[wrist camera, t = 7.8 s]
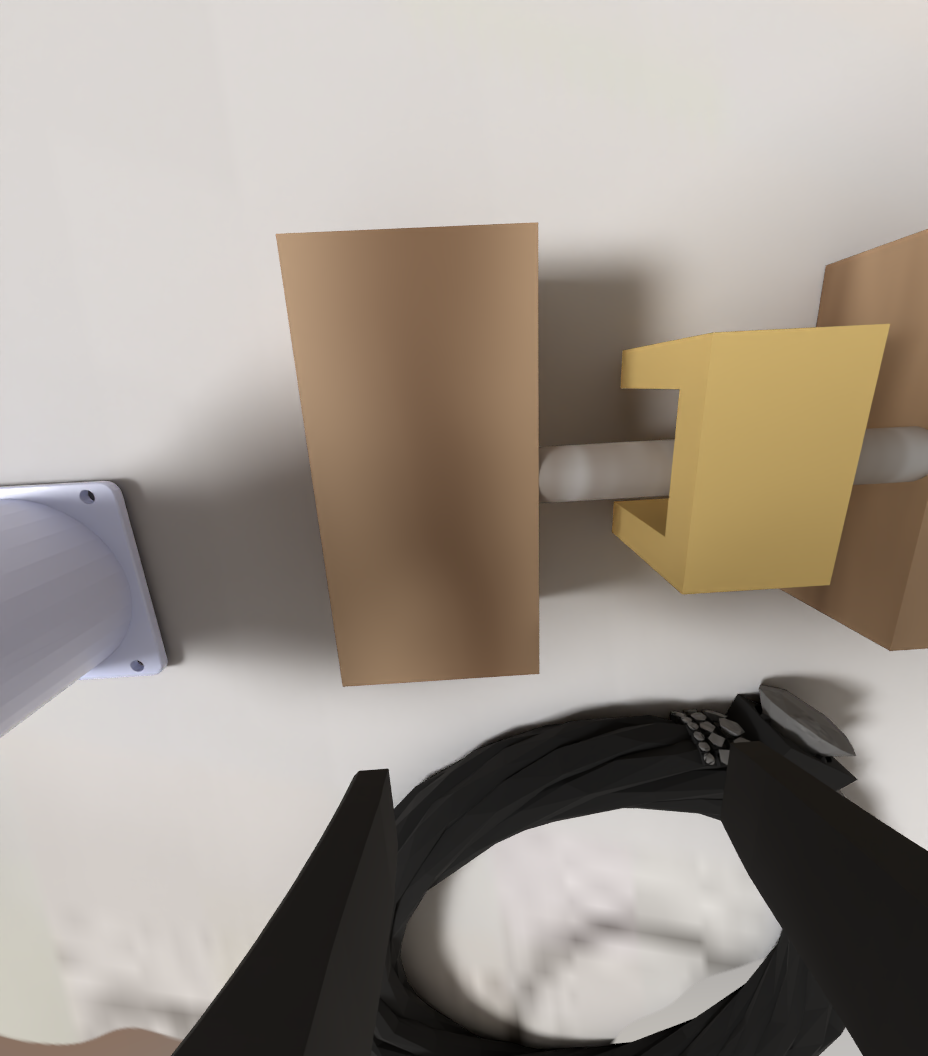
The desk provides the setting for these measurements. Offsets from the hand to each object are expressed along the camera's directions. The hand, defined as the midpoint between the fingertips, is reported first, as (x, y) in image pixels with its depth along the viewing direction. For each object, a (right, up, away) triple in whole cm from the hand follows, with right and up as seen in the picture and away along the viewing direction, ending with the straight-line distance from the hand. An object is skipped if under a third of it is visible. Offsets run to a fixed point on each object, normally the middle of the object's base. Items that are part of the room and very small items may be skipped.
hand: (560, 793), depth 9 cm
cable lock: (+5, -14, +15) cm, 21 cm away
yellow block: (+5, +9, +6) cm, 12 cm away
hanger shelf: (+5, +9, +7) cm, 12 cm away
